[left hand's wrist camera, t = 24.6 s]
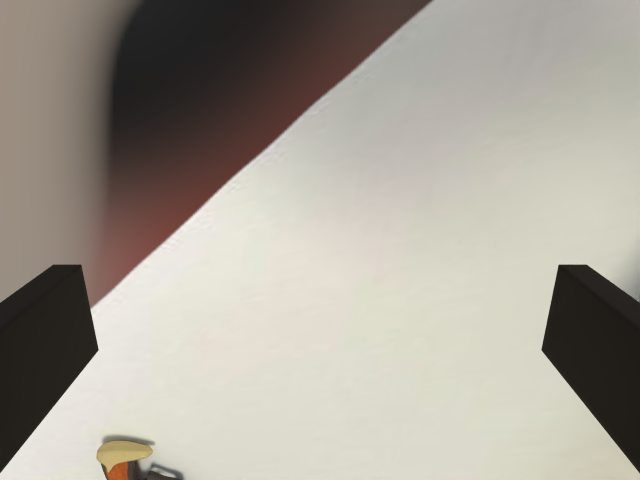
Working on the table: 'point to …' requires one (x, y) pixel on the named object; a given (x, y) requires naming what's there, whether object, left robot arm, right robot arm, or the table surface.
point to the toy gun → (125, 460)
